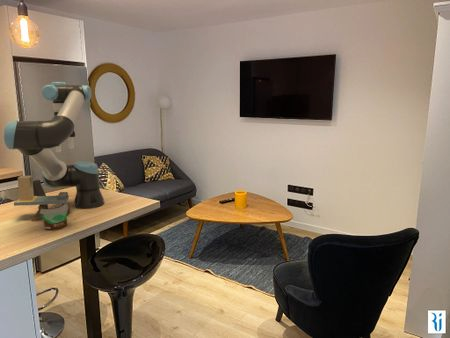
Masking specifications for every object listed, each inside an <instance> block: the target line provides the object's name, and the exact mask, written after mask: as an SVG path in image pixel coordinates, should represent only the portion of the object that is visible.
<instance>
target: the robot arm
mask: <svg viewBox="0 0 450 338" xmlns="http://www.w3.org/2000/svg"><path fill="white" fill-rule="evenodd" d="M41 95H42V96H43V98H44V99H46V100H48V101H52V103H53V106H52V107H53V111H54V112H53V117H52V118H51V119H50V120H21V121H20V120H14V121H13V120H12V121H9V122H7V123H6V125H5V127H4V130H3V140H4V141H3V142H4V144H5V147H6V148H7V149H9V150H18V151H19V152H20V153H21V154H22V155H25V156H29V157H30V158H31V159H32V160H33V161H34V163H35V164H36V165H37V166H38V167H39V168H40V169H41V179H42V182H43V184H44V185H45V186H46V187H48V188H65V187H66V188H67V187H69V188H70V187H71V188H72V187H76V188H75V189H76V193H75V197H74V201H73V206H74V208H75V209H84V210H85V209H87V210H88V209H94V208H98V207H101V206H103V205H105V199H104V197H103V194H102V192H101V189H100V177H99V174H100V172H99V167H98V164H97V163H95V162H92V161H75V162H74V163H73V164H66V163H65V162H64V161H63V160H60V159H58V158H57V157H56V155H55V154H54V152H53V151H52V150H51V149H52V148H55V153H62V144H63V143H64V142H65V141H67V140H68V141H67V142H68V150H69V149H75V143H74V138H76V133H75V122H76V119H77V117H78V115H79V113H80V110H81V108H82V106H83V103H84V102H85V101H90V100H91V99H92V88H91V87H90V86H89V85H85V84H70V85H69V84H67V83H66V82H64V81H52V82H51V83H50V84H47V85H44V86H43V87H42V89H41Z"/></svg>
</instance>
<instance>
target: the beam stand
mask: <svg viewBox="0 0 450 338" xmlns="http://www.w3.org/2000/svg"><path fill="white" fill-rule="evenodd" d="M66 203H67V204H68V207H69V208H68V209H67V217H69V214H70V212H71V209H70V202H66ZM61 205H63V204H61ZM37 206H38V210H37V211H36V212H35V214H34V215H33V216H32V218H31V222H36V221H38V222H39V221H43V217H42V214H40V210H41V209H48V208H49V204H45V205H37Z"/></svg>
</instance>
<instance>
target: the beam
mask: <svg viewBox="0 0 450 338" xmlns="http://www.w3.org/2000/svg"><path fill="white" fill-rule="evenodd" d="M69 198H70V197H69V191H60V192H59V193H58V195H46V196H34V198H33V199H32V200H28V201H19V197H18V198H17V199H16V200H15V201H13V206H15V207H16V206H18V207H19V206H39V205H45V204H48V205H62V204H65V202H66V203H68V201H69Z"/></svg>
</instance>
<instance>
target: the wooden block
mask: <svg viewBox="0 0 450 338" xmlns="http://www.w3.org/2000/svg"><path fill="white" fill-rule="evenodd" d="M33 181H34V179H33V175H20V176H18V177H17V187H18V198H19V201H28V200H32V199H33V198H34V192H33Z"/></svg>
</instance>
